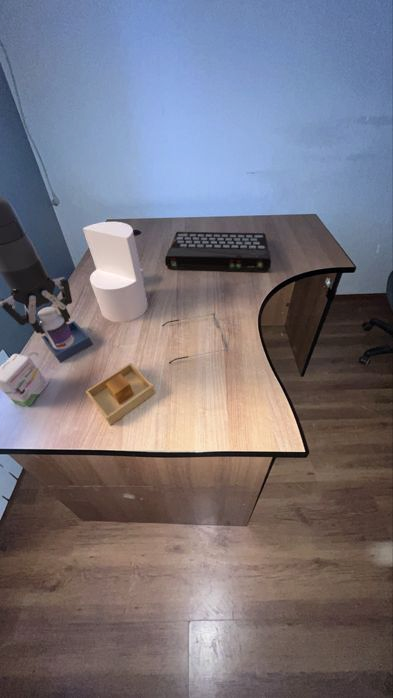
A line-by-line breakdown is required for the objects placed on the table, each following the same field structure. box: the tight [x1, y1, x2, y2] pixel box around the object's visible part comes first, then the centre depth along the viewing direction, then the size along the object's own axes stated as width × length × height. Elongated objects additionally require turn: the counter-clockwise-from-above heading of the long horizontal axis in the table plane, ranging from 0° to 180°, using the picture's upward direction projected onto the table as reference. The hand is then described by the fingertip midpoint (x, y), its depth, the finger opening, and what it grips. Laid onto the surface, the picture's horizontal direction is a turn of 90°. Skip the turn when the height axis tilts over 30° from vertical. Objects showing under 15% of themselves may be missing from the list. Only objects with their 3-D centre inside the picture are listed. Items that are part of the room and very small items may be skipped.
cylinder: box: [82, 221, 149, 323], centre depth 90 cm, size 17×17×28 cm
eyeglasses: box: [161, 312, 229, 364], centre depth 86 cm, size 18×19×4 cm
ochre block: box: [106, 374, 134, 404], centre depth 71 cm, size 5×5×5 cm
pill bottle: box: [37, 306, 74, 349], centre depth 63 cm, size 5×5×10 cm
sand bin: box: [85, 362, 156, 426], centre depth 72 cm, size 14×11×4 cm
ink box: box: [0, 353, 49, 408], centre depth 70 cm, size 8×5×12 cm, turn 164°
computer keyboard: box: [164, 231, 272, 273], centre depth 123 cm, size 45×28×7 cm, turn 84°
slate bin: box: [41, 320, 94, 363], centre depth 86 cm, size 11×11×4 cm
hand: (54, 326), depth 63 cm, fingers closed on pill bottle, 5 cm apart
